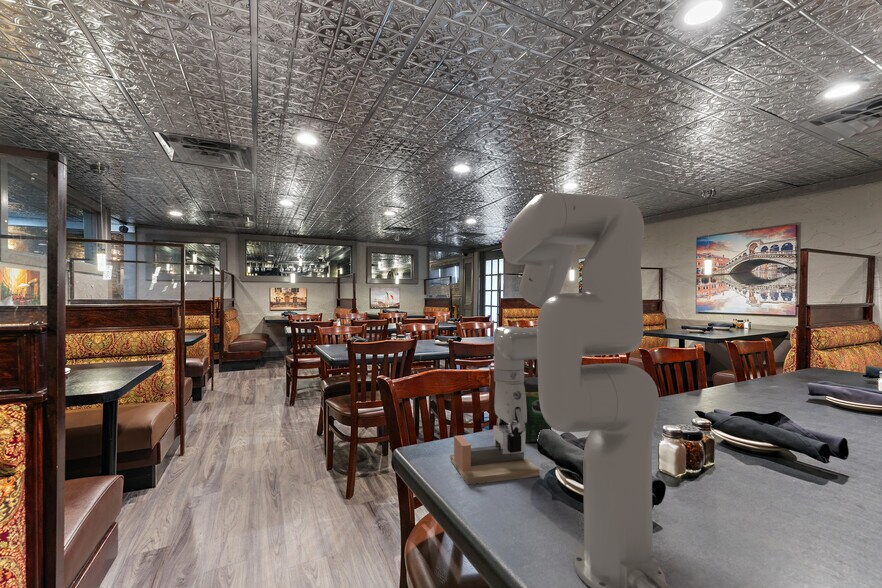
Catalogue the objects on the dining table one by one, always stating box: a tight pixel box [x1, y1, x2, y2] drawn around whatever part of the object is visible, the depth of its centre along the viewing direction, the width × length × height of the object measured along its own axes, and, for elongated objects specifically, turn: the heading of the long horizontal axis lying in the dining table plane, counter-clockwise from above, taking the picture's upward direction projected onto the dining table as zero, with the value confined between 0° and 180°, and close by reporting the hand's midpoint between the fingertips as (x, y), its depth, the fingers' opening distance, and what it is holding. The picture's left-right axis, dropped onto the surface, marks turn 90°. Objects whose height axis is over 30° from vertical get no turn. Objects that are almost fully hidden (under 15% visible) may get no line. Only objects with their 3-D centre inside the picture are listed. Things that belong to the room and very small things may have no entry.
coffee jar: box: [523, 376, 552, 443], centre depth 117 cm, size 10×8×19 cm
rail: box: [471, 445, 525, 466], centre depth 96 cm, size 2×15×4 cm, turn 105°
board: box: [449, 454, 540, 486], centre depth 96 cm, size 14×18×2 cm
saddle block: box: [492, 425, 526, 454], centre depth 98 cm, size 6×6×5 cm
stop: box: [453, 435, 472, 472], centre depth 94 cm, size 7×2×6 cm, turn 14°
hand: (509, 446), depth 98 cm, fingers closed on saddle block, 6 cm apart
